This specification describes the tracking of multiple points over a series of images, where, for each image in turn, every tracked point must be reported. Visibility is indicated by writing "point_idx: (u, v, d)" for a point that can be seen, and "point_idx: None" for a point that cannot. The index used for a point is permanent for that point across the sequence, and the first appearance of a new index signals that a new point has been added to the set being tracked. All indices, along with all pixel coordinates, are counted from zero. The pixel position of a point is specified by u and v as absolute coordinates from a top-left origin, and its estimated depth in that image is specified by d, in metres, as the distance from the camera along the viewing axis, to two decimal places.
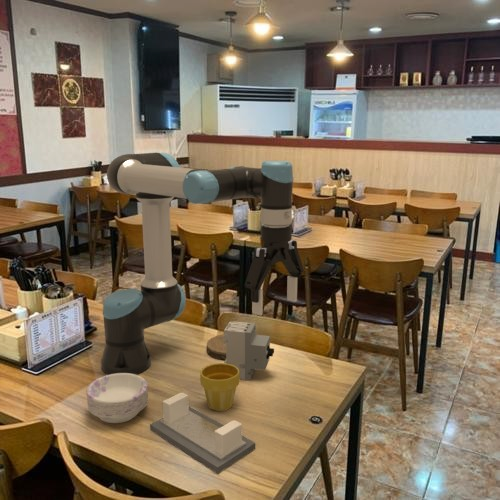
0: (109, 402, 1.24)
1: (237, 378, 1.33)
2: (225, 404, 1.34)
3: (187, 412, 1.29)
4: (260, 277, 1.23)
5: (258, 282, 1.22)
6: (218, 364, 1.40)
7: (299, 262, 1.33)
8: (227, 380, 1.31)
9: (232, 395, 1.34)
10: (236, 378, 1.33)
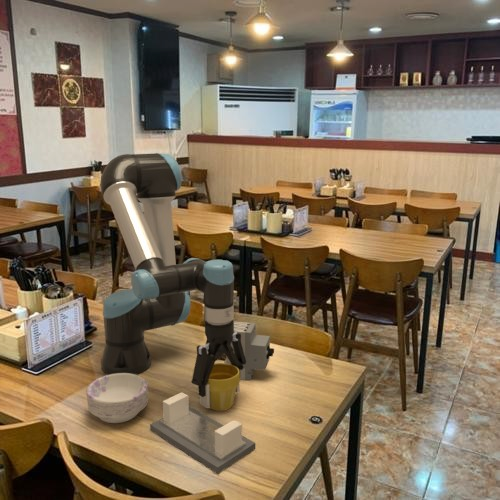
0: (109, 402, 1.24)
1: (237, 378, 1.33)
2: (225, 404, 1.34)
3: (187, 412, 1.29)
4: (205, 373, 1.30)
5: (204, 378, 1.30)
6: (218, 364, 1.40)
7: (242, 354, 1.39)
8: (227, 380, 1.31)
9: (232, 395, 1.34)
10: (236, 378, 1.33)
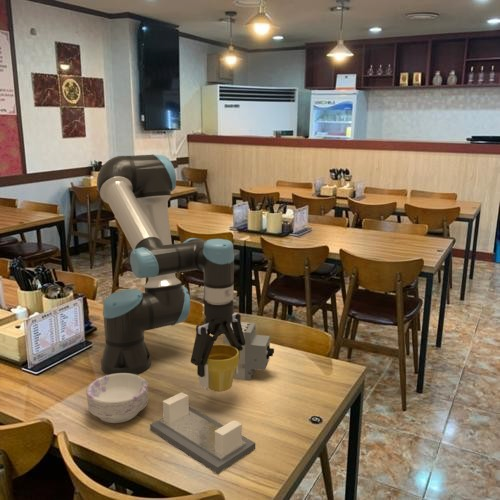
0: (109, 402, 1.24)
1: (236, 359, 1.32)
2: (224, 385, 1.33)
3: (187, 412, 1.29)
4: (204, 353, 1.29)
5: (203, 358, 1.29)
6: (217, 345, 1.39)
7: (241, 335, 1.38)
8: (226, 360, 1.30)
9: (231, 376, 1.33)
10: (235, 359, 1.32)
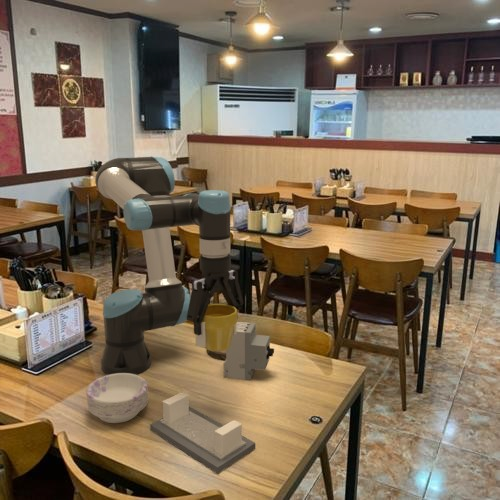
0: (109, 402, 1.24)
1: (235, 316, 1.26)
2: (222, 344, 1.27)
3: (187, 412, 1.29)
4: (201, 310, 1.23)
5: (199, 315, 1.23)
6: (214, 305, 1.33)
7: (239, 294, 1.32)
8: (224, 317, 1.24)
9: (229, 335, 1.27)
10: (234, 316, 1.26)
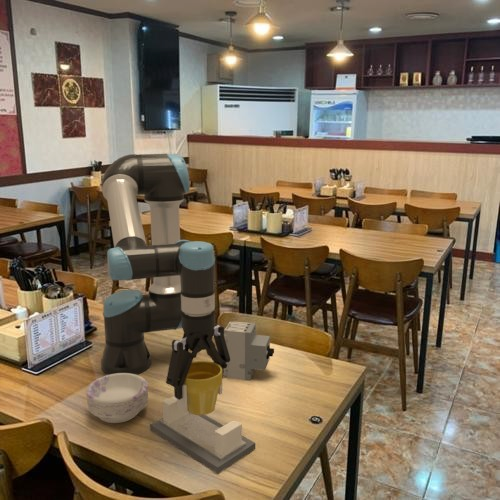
0: (109, 402, 1.24)
1: (219, 378, 1.16)
2: (205, 407, 1.16)
3: (187, 412, 1.29)
4: (182, 372, 1.13)
5: (180, 378, 1.13)
6: (199, 362, 1.23)
7: (225, 350, 1.22)
8: (207, 380, 1.14)
9: (214, 397, 1.17)
10: (218, 378, 1.16)
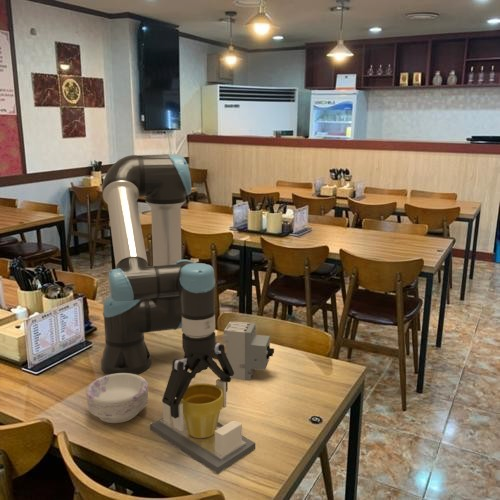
0: (109, 402, 1.24)
1: (220, 401, 1.18)
2: (206, 431, 1.18)
3: None
4: (179, 391, 1.13)
5: (177, 397, 1.13)
6: (200, 384, 1.24)
7: (228, 366, 1.23)
8: (208, 404, 1.15)
9: (215, 421, 1.19)
10: (219, 402, 1.17)
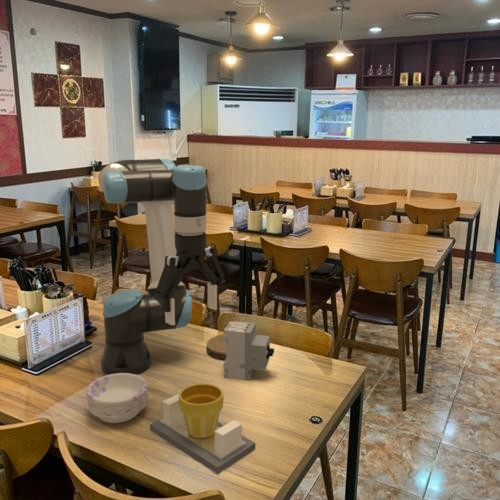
0: (109, 402, 1.24)
1: (220, 402, 1.18)
2: (206, 431, 1.18)
3: None
4: (171, 286, 1.19)
5: (169, 291, 1.18)
6: (200, 384, 1.24)
7: (219, 269, 1.29)
8: (208, 404, 1.15)
9: (215, 421, 1.19)
10: (219, 402, 1.17)
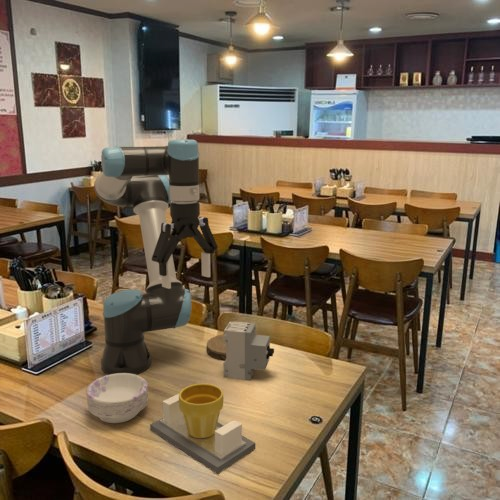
0: (109, 402, 1.24)
1: (220, 402, 1.18)
2: (206, 431, 1.18)
3: None
4: (167, 251, 1.28)
5: (165, 256, 1.27)
6: (200, 385, 1.24)
7: (212, 239, 1.38)
8: (208, 404, 1.15)
9: (215, 421, 1.19)
10: (219, 402, 1.17)
